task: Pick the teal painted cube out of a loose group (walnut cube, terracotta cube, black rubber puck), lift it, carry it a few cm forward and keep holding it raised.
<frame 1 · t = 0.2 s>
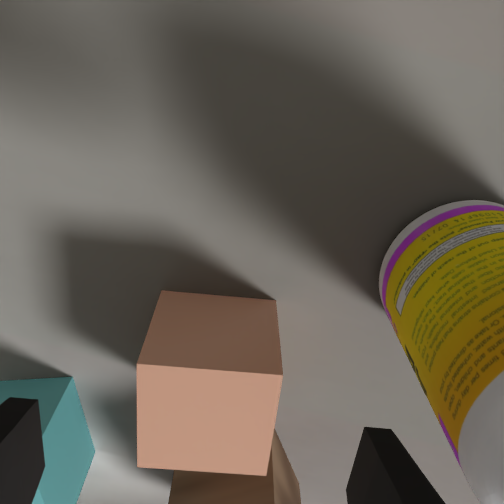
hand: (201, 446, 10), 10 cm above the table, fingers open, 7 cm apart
supplement bottle: (451, 267, 20), on the table
teal cube: (35, 417, 24), on the table
walnut cube: (240, 462, 25), on the table
terracotta cube: (215, 341, 22), on the table
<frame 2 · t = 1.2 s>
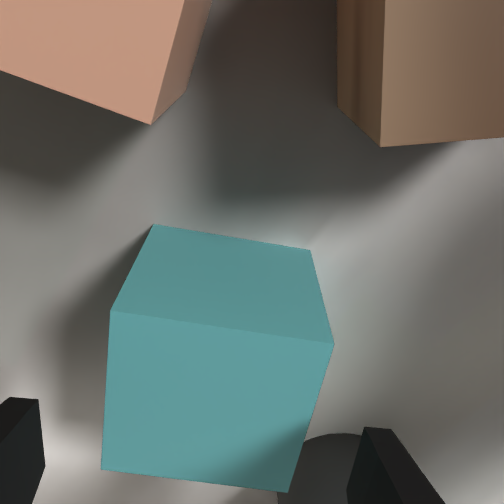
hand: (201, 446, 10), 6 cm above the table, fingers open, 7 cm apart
teal cube: (221, 302, 16), on the table
black puck: (336, 477, 19), on the table
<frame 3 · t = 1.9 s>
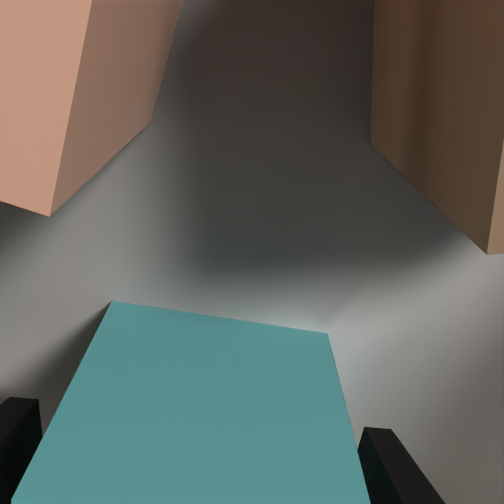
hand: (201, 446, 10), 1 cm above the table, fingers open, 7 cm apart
teal cube: (206, 397, 12), on the table
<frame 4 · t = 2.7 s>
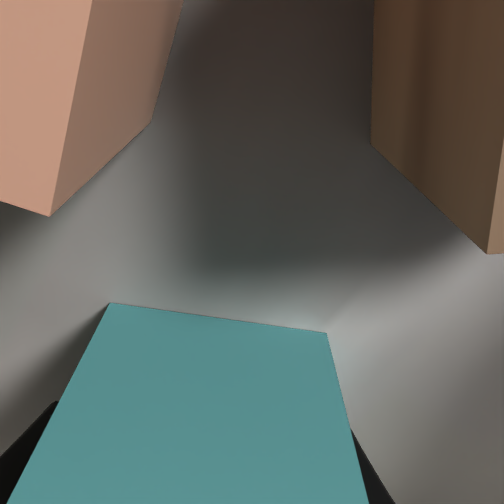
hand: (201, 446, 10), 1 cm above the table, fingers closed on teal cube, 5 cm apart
teal cube: (206, 400, 12), on the table, touching gripper
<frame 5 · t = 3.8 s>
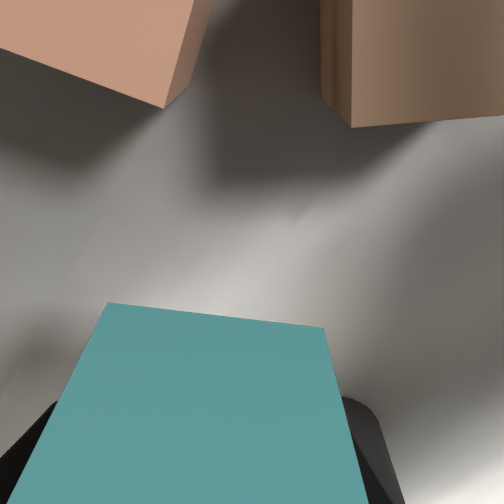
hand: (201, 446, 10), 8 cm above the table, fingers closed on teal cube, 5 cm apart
teal cube: (205, 397, 12), point 7 cm above the table, touching gripper
walnut cube: (403, 3, 14), on the table
black puck: (325, 437, 21), on the table
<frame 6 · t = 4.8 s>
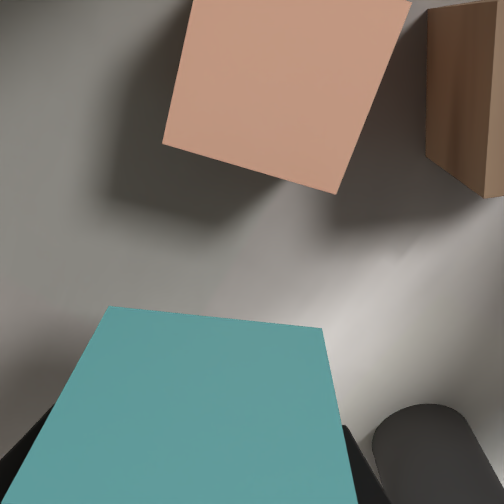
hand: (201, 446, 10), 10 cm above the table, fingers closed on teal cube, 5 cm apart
teal cube: (208, 398, 12), point 8 cm above the table, touching gripper
walnut cube: (497, 76, 17), on the table
black puck: (420, 440, 24), on the table
terracotta cube: (271, 63, 16), on the table
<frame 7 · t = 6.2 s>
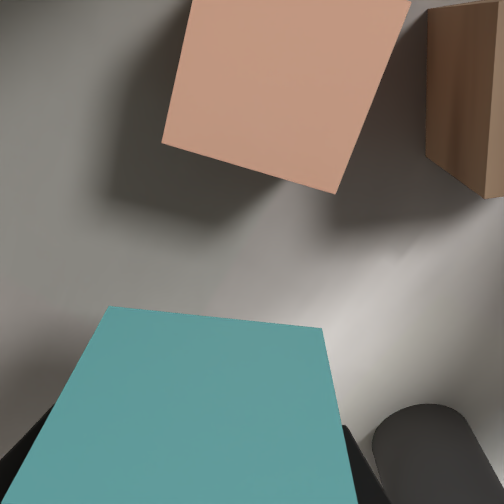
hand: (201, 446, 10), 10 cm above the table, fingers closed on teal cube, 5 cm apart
teal cube: (208, 398, 12), point 8 cm above the table, touching gripper
walnut cube: (497, 76, 17), on the table
black puck: (420, 440, 24), on the table
terracotta cube: (271, 63, 16), on the table
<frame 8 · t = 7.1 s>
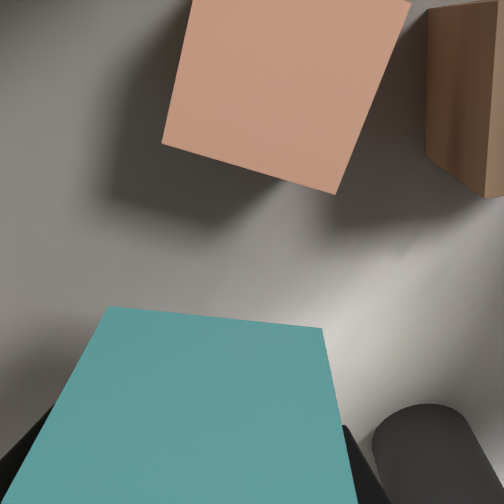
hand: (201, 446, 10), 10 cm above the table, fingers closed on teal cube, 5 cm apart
teal cube: (208, 398, 12), point 8 cm above the table, touching gripper
walnut cube: (497, 76, 17), on the table
black puck: (420, 440, 24), on the table
terracotta cube: (271, 63, 16), on the table
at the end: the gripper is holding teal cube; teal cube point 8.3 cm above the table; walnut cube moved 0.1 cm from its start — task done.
